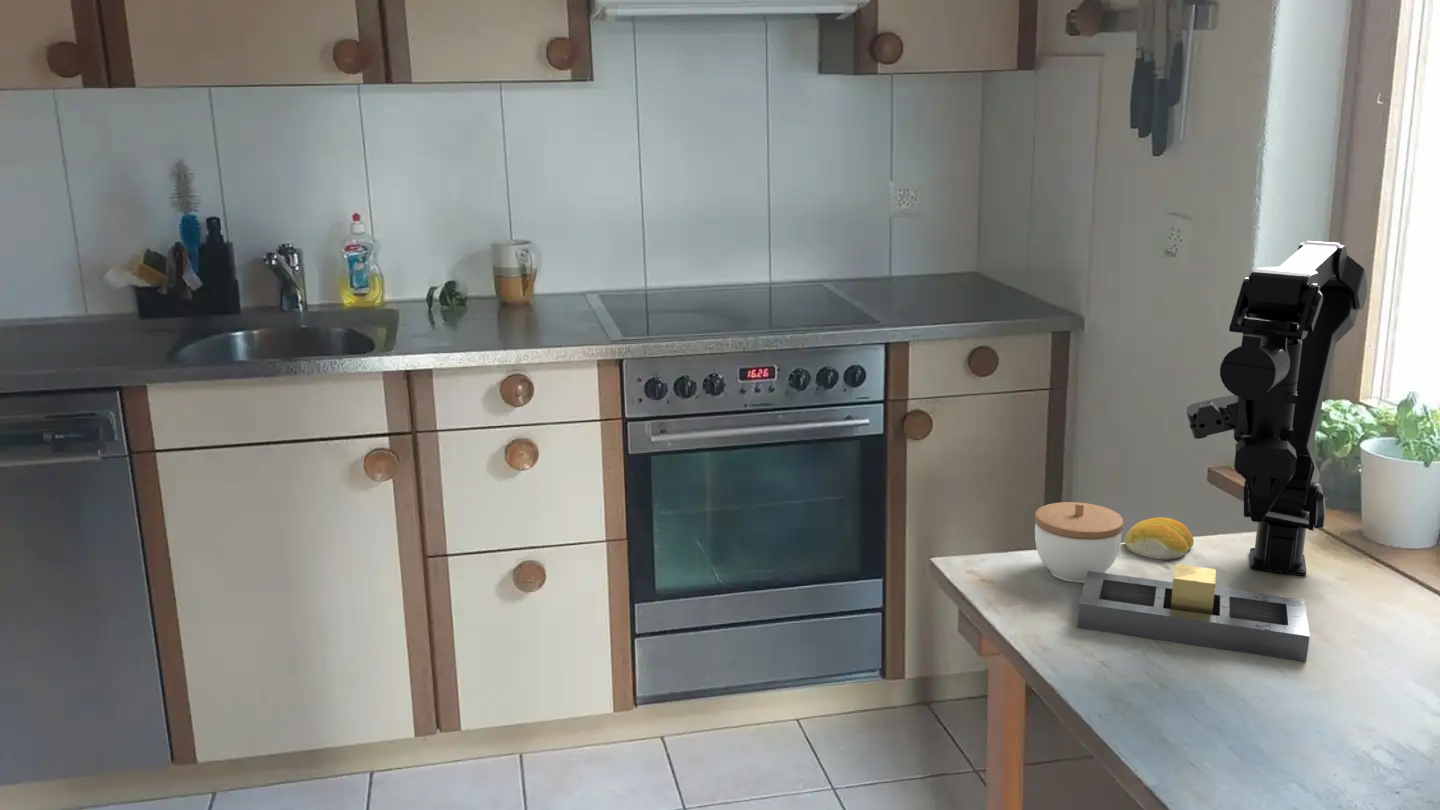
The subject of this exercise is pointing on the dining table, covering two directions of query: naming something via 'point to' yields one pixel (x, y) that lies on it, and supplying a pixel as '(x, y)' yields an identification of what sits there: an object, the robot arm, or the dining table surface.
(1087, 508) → the lidded jar
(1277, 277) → the robot arm
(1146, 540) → the bread roll
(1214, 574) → the brass block
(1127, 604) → the grey slotted tray
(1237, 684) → the dining table surface
